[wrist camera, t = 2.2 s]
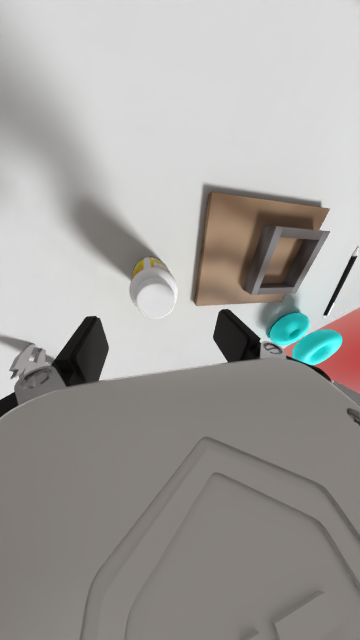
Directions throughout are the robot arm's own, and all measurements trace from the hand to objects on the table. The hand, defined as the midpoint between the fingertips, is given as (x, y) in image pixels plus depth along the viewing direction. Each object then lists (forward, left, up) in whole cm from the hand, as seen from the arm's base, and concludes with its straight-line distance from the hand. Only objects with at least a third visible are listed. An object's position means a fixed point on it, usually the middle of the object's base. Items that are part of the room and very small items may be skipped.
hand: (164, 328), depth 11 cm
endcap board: (-3, +18, -14) cm, 23 cm away
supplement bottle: (-1, 0, -14) cm, 14 cm away
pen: (+3, +45, -15) cm, 47 cm away
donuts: (+13, +35, -14) cm, 40 cm away
